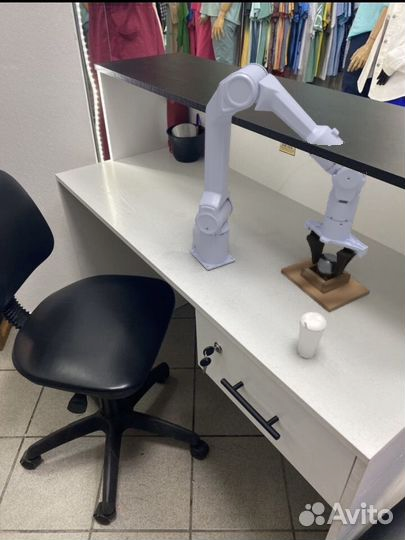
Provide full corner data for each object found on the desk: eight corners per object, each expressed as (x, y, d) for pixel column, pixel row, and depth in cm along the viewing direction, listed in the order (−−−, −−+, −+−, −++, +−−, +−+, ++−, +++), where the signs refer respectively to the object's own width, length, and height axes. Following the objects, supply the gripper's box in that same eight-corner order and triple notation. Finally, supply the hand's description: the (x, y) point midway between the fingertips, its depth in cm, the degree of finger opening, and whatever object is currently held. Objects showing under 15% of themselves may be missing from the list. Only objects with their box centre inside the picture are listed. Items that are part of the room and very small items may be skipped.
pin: (311, 278, 89) (315, 257, 86) (322, 272, 91) (327, 251, 88) (325, 287, 87) (330, 265, 83) (336, 280, 89) (342, 259, 85)
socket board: (280, 272, 93) (282, 260, 91) (318, 258, 98) (320, 246, 95) (328, 312, 82) (332, 299, 80) (368, 294, 87) (372, 281, 84)
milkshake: (286, 354, 73) (293, 315, 67) (302, 339, 76) (311, 301, 70) (307, 368, 70) (316, 329, 64) (322, 352, 73) (333, 313, 67)
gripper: (299, 207, 81) (290, 259, 90) (359, 236, 72) (343, 291, 81) (320, 197, 85) (309, 249, 93) (380, 224, 76) (363, 278, 84)
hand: (326, 268), depth 87 cm, fingers open, 5 cm apart
